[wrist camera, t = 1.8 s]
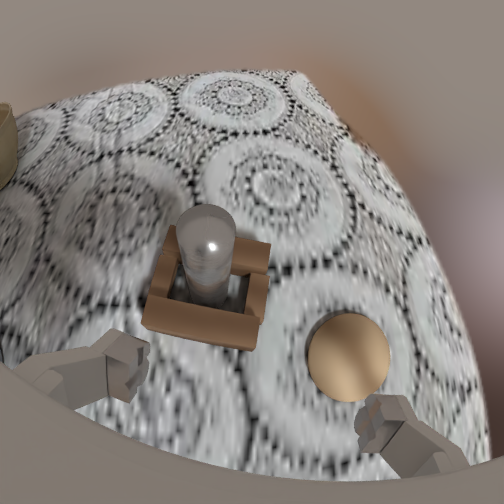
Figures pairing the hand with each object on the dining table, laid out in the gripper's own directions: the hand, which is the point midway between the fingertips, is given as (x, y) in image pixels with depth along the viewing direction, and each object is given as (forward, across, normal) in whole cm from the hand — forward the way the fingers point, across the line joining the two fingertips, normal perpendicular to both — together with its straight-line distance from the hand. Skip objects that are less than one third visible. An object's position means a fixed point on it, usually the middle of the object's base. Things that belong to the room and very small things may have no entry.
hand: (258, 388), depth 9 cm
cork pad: (+18, +11, -8) cm, 23 cm away
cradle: (+20, -5, -6) cm, 22 cm away
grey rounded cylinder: (+20, -5, -6) cm, 22 cm away
